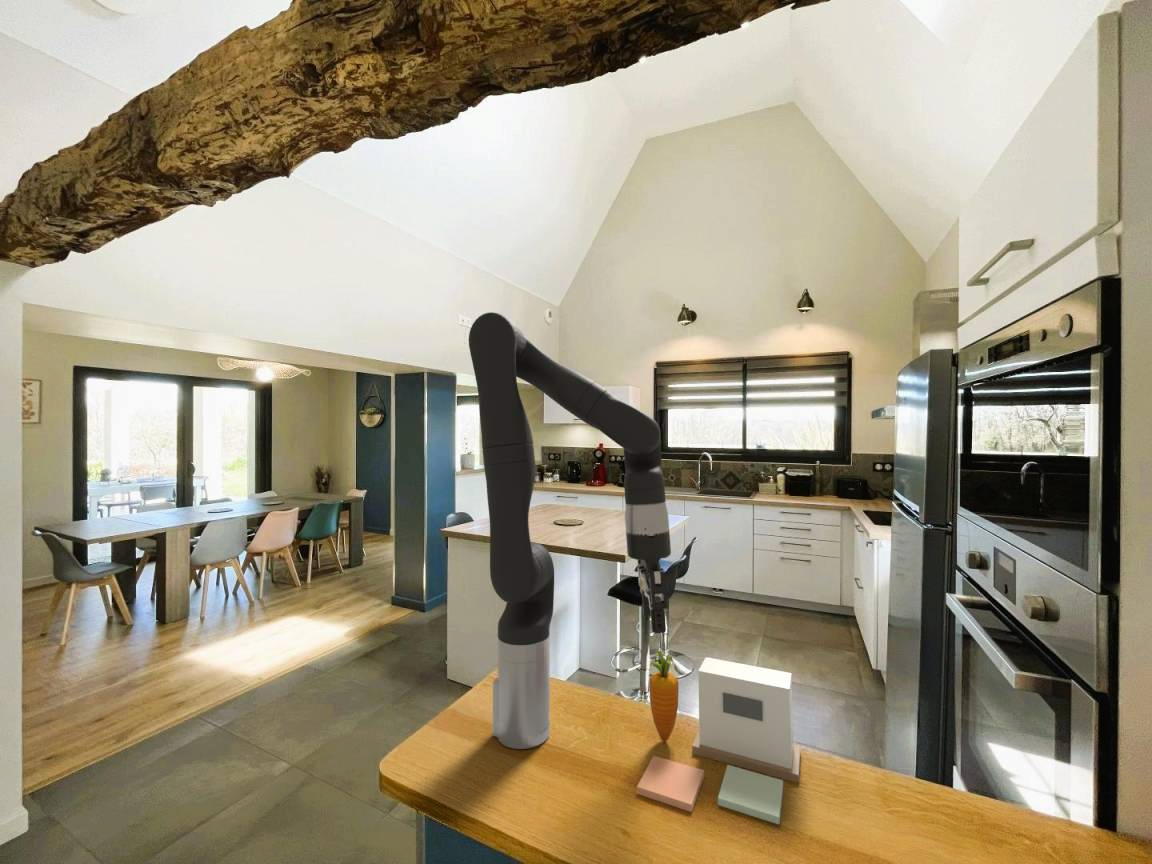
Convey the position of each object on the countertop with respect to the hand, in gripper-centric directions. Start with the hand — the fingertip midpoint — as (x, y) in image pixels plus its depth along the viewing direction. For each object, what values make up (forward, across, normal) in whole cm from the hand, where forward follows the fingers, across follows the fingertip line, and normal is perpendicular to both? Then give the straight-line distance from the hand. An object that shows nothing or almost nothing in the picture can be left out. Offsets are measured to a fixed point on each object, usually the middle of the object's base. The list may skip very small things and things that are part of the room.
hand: (654, 623), depth 82 cm
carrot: (+21, -1, 0) cm, 21 cm away
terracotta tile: (+20, +10, -1) cm, 23 cm away
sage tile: (+21, +12, +10) cm, 27 cm away
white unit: (+21, +2, +13) cm, 25 cm away
